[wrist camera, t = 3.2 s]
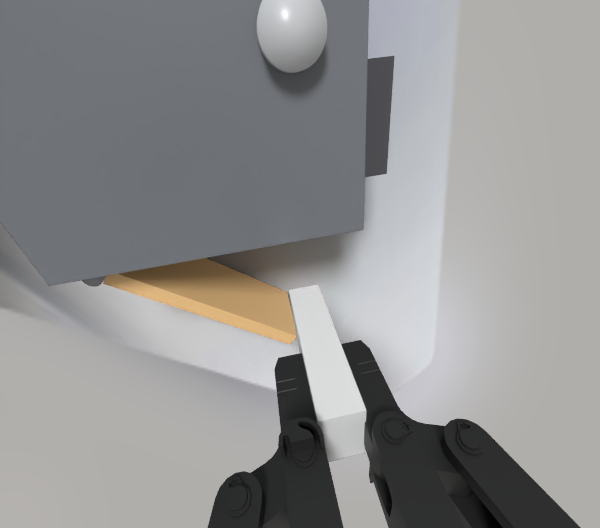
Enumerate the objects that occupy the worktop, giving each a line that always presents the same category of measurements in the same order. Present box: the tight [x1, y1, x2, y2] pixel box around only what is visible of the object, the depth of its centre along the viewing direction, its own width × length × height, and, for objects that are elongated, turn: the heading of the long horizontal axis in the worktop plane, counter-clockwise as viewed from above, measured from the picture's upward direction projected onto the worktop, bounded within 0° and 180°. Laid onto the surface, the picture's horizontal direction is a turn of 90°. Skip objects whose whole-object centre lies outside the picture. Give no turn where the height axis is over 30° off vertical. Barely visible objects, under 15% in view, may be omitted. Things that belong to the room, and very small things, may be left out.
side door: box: [82, 258, 297, 344], centre depth 21 cm, size 14×1×6 cm, turn 56°
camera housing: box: [0, 0, 394, 286], centre depth 14 cm, size 18×12×9 cm
